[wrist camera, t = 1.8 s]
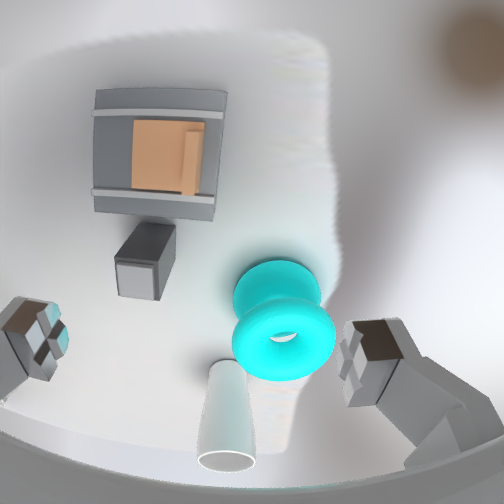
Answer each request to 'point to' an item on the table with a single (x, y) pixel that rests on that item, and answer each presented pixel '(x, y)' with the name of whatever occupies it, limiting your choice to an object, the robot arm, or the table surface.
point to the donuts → (281, 322)
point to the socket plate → (121, 142)
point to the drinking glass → (227, 421)
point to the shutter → (167, 155)
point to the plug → (145, 261)
